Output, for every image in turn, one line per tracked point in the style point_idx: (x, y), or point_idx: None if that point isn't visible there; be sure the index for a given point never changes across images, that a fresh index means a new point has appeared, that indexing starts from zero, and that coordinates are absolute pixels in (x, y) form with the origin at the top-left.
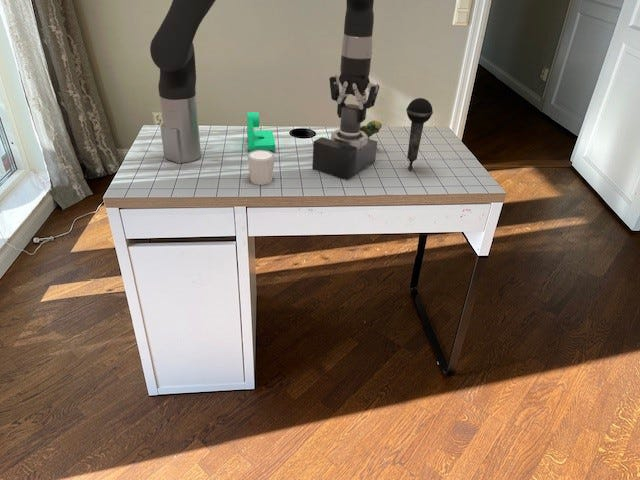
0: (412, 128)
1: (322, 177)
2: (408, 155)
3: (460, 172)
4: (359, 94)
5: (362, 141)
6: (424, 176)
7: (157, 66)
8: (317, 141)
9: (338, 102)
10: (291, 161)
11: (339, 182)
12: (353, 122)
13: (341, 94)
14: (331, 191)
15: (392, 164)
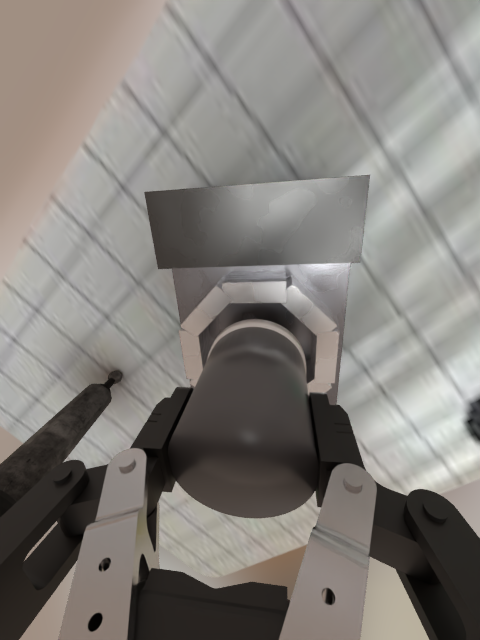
0: (20, 464)
1: (265, 149)
2: (95, 391)
3: (46, 422)
4: (71, 593)
5: (181, 336)
6: (74, 362)
7: None
8: (348, 189)
9: (352, 473)
10: (447, 184)
11: (197, 160)
12: (204, 370)
13: (333, 562)
14: (171, 65)
15: (167, 376)
